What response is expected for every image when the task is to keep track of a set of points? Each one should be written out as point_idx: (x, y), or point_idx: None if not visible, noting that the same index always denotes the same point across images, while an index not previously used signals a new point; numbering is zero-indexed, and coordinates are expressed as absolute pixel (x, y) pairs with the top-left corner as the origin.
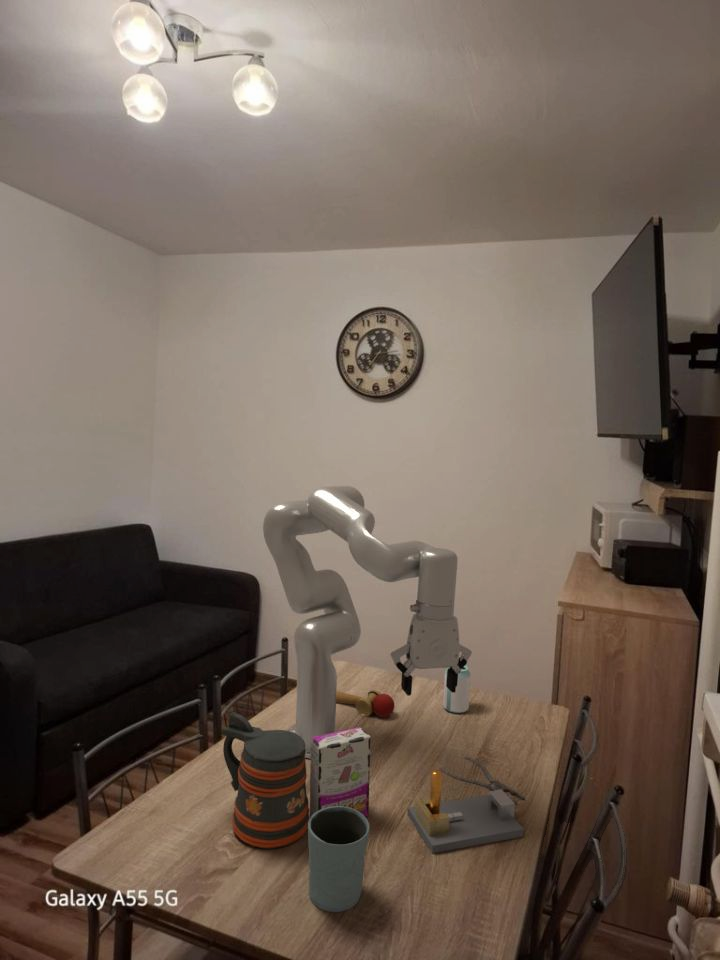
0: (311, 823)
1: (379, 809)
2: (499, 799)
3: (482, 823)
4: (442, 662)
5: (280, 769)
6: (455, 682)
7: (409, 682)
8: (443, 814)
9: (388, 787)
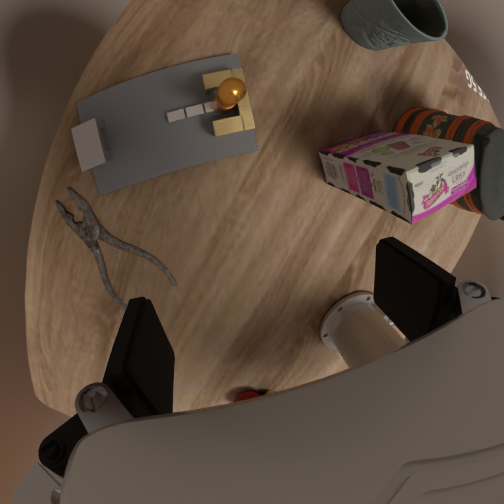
0: (443, 25)
1: (298, 166)
2: (92, 137)
3: (135, 107)
4: (290, 452)
5: (489, 124)
6: (121, 332)
7: (432, 263)
8: (211, 83)
9: (273, 226)
